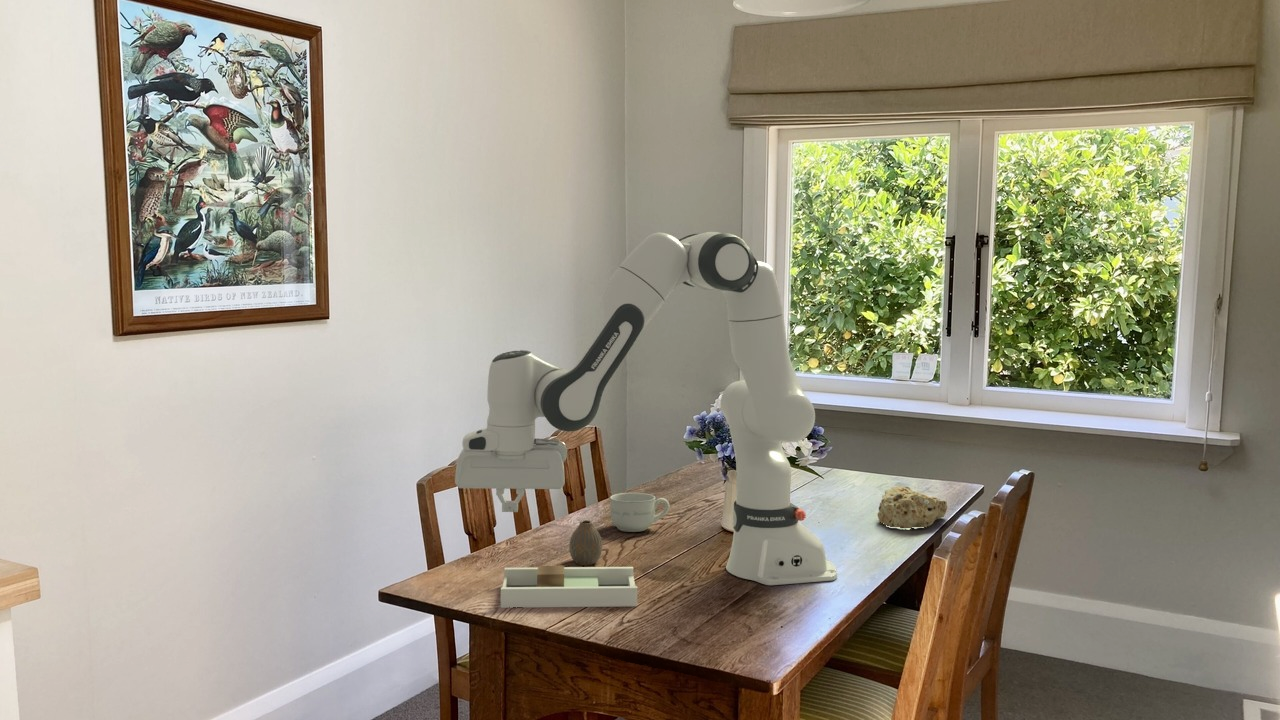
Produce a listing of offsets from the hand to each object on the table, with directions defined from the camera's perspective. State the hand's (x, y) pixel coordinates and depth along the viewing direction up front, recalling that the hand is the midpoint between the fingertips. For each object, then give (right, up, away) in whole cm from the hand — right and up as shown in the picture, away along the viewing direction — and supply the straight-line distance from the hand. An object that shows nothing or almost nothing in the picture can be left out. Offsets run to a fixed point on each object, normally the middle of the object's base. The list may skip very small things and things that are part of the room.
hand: (510, 511), depth 182 cm
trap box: (+11, -16, +3) cm, 20 cm away
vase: (+13, -14, +22) cm, 30 cm away
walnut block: (+7, -14, +2) cm, 16 cm away
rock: (+91, -12, +58) cm, 109 cm away
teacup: (+24, -12, +47) cm, 54 cm away
